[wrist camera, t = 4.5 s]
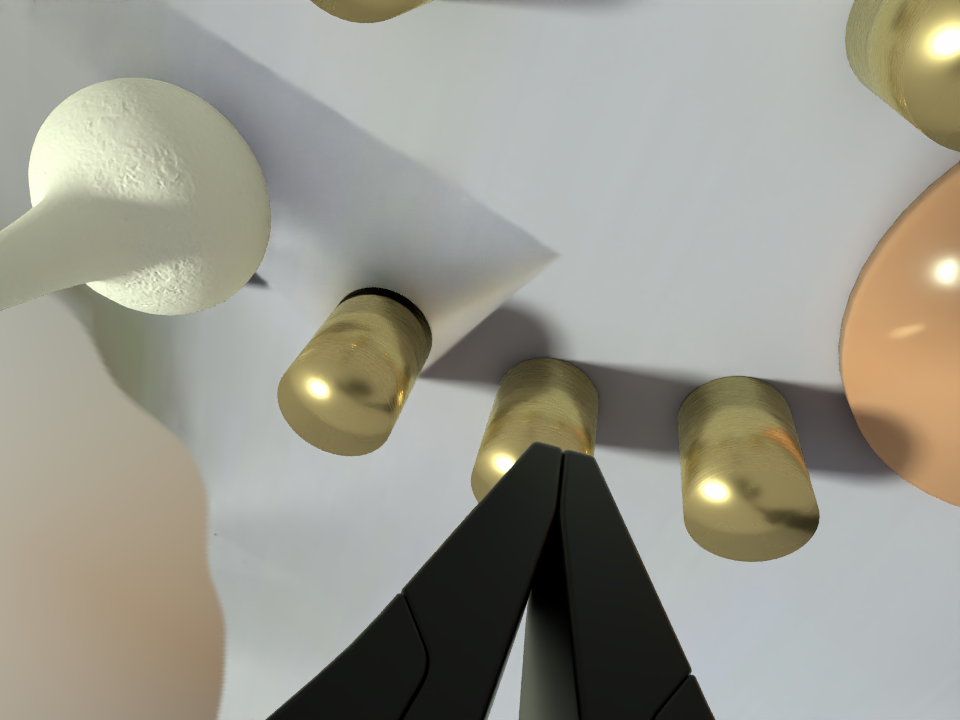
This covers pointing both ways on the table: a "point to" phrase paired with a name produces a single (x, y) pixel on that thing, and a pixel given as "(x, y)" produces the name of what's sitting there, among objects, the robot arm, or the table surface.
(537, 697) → the robot arm
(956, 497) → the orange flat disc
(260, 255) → the cream white mushroom
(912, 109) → the spacer field
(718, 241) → the table surface
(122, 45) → the table surface
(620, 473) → the table surface
